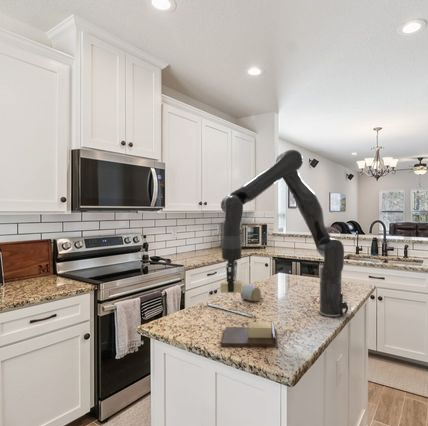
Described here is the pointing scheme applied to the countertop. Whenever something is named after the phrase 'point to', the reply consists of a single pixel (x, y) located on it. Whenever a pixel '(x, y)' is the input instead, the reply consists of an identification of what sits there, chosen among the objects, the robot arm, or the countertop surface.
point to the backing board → (245, 338)
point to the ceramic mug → (250, 292)
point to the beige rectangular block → (260, 330)
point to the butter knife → (228, 309)
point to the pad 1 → (236, 287)
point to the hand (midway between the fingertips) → (231, 289)
